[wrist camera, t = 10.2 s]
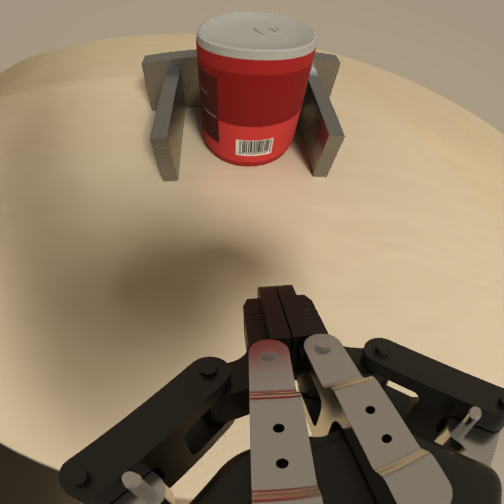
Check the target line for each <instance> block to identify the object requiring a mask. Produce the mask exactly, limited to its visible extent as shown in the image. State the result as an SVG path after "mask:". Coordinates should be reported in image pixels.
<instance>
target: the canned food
mask: <svg viewBox="0 0 504 504" xmlns="http://www.w3.org/2000/svg"><path fill="white" fill-rule="evenodd" d="M316 42H317V35H316V33H315V32H314V31H313V30H312V29H311V28H310V27H308V26H307V25H305V24H304V23H301V22H299V21H297V20H294V19H291V18H289V17H285V16H281V15H276V14H271V13H262V12H241V13H240V12H239V13H231V14H226V15H222V16H218V17H215V18H212V19H210V20H208V21H206V22H204V23H203V24H201V25H200V27H199V28H198V30H197V37H196V45H197V64H198V76H199V88H200V99H201V109H202V119H203V129H204V137H205V141H206V142H207V144H208V146H209V148H210V149H211V151H212V152H213V153H214V154H215V155H216V156H217V157H218V158H220V159H221V160H223V161H225V162H228V163H230V164H234V165H239V166H258V165H264V164H267V163H270V162H272V161H274V160H276V159H278V158H279V157H280V156H282V155H283V154H284V153H285V151H286V150H287V149H288V148H289V146H290V145H291V143H292V141H293V138H294V134H295V131H296V127H297V123H298V119H299V115H300V111H301V107H302V103H303V99H304V96H305V92H306V88H307V84H308V80H309V76H310V72H311V68H312V64H313V60H314V54H315V50H316Z"/></svg>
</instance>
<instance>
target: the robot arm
mask: <svg viewBox="0 0 504 504" xmlns="http://www.w3.org/2000/svg"><path fill="white" fill-rule="evenodd" d="M243 314H244V335H245V343H246V351H247V352H246V354H245V355H244V356H243V357H241V358H240V359H238V360H236V361H233V362H230V363H226V362H225V361H224V360H222V359H220V358H216V357H204V358H200V359H198V360H196V361H194V362H193V363H192V364H190V365H189V366H188V367H187V368H186V369H185V370H183V371H182V372H181V373H180V374H179V375H177V376H176V377H175V378H174V379H173V380H171V381H170V382H169V383H168V384H166V385H165V386H164V387H163V388H162V389H160V390H159V391H158V392H157V393H155V394H154V395H153V396H152V397H151V398H149V399H148V400H147V401H146V402H144V403H143V404H142V405H141V406H139V407H138V408H137V409H136V410H134V411H133V412H132V413H130V414H129V415H128V416H127V417H125V418H124V419H123V420H121V421H120V422H119V423H118V424H116V425H115V426H114V427H112V428H111V429H110V430H108V431H107V432H106V433H104V434H103V435H102V436H100V437H99V438H98V439H96V440H95V441H94V442H92V443H91V444H90V445H88V446H87V447H86V448H84V449H83V450H82V451H80V452H79V453H77V454H76V455H75V456H73V457H72V458H70V459H69V460H68V461H66V462H65V463H64V464H63V465H62V467H61V469H60V472H59V481H60V485H61V486H62V488H63V490H64V491H65V492H66V493H67V494H68V495H70V496H71V497H73V498H74V499H76V500H78V501H79V502H80V503H81V504H174V503H175V498H174V495H173V493H172V491H171V490H170V488H171V487H172V486H173V485H174V484H175V483H176V482H177V481H178V480H179V479H180V478H181V477H182V476H183V475H184V474H185V473H186V472H187V471H188V470H189V469H190V468H191V467H192V466H193V465H194V464H195V463H196V462H197V461H198V460H199V459H200V458H201V457H202V456H203V455H204V454H205V453H206V452H207V451H208V450H209V449H210V448H211V447H212V446H213V445H214V444H215V443H216V442H217V440H218V439H219V438H220V437H221V436H222V435H223V434H224V433H225V432H226V431H227V430H228V428H229V427H230V426H231V425H232V424H233V422H234V420H235V419H237V418H240V417H243V416H245V415H248V414H250V448H251V449H249V450H246V451H244V452H242V453H240V454H238V455H236V456H235V457H233V458H232V459H230V460H229V461H228V462H227V463H226V464H224V465H223V466H222V467H221V469H220V470H219V471H218V472H217V473H216V474H215V476H214V477H213V478H212V479H211V480H210V481H209V482H208V484H207V485H206V486H205V487H204V488H203V489H202V490H201V491H200V493H199V494H198V495H197V496H196V497H195V498H194V499H193V500H192V501H191V502H190V503H189V504H501V495H502V494H501V493H502V487H501V482H500V479H499V477H498V475H497V473H496V472H495V471H494V470H493V469H492V468H491V467H490V465H491V462H492V459H493V456H494V452H495V449H496V445H497V441H498V437H499V433H500V431H501V429H502V428H503V427H504V388H501V387H499V386H496V385H494V384H491V383H489V382H486V381H484V380H482V379H479V378H477V377H474V376H472V375H469V374H467V373H464V372H462V371H460V370H457V369H455V368H452V367H450V366H448V365H445V364H443V363H441V362H438V361H436V360H434V359H431V358H429V357H427V356H424V355H422V354H420V353H417V352H415V351H413V350H410V349H408V348H406V347H404V346H401V345H399V344H397V343H394V342H392V341H390V340H387V339H384V338H374V339H371V340H369V341H368V342H366V344H365V346H364V348H350V347H344V346H343V345H342V344H341V342H340V341H339V340H338V339H337V338H335V337H334V336H331V335H329V334H328V332H327V330H326V328H325V326H324V324H323V322H322V320H321V318H320V316H319V315H318V312H317V310H316V309H315V306H314V304H313V302H312V300H310V299H309V298H308V297H306V296H305V295H296V293H295V290H294V288H293V286H292V285H282V286H269V287H258V298H257V299H247V300H246V302H245V304H244V306H243ZM294 380H297V383H298V390H297V391H296V387H295V381H294ZM389 380H390V381H392V382H394V383H396V384H398V385H400V386H402V387H405V388H407V389H409V390H411V391H413V392H415V393H416V394H417V395H418V397H410V396H408V395H406V394H404V393H402V392H400V391H398V390H395V389H393V388H391V387H389V386H387V383H388V381H389ZM305 417H306V419H307V422H308V424H309V427H310V430H311V433H312V437H309V435H308V430H307V424H306V419H305Z"/></svg>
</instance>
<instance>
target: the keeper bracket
mask: <svg viewBox="0 0 504 504" xmlns="http://www.w3.org/2000/svg"><path fill="white" fill-rule="evenodd" d="M339 66H340V61H339V60H338V58H337V57H336V55H330V54H323V53H316V52H315V54H314V60H313V64H312V68H311V72H310V76H309V80H308V84H307V88H306V92H305V96H304V99H303V103H302V107H301V111H300V115H299V119H298V120H299V124H300V127H301V131H302V134H303V138H304V142H305V146H306V150H307V154H308V158H309V162H310V166H311V170H312V174H313V176H318V177H327V175H328V172H329V170H330V168H331V166H332V164H333V161H334V159H335V157H336V155H337V153H338V150H339V148H340V146H341V144H342V142H343V139H344V137H345V136H344V133H343V131H342V128H341V126H340V123H339V121H338V118H337V116H336V113H335V111H334V108H333V106H332V104H331V101H330V99H329V97H330V94H331V91H332V88H333V85H334V82H335V79H336V76H337V72H338V69H339ZM142 68H143V73H144V77H145V82H146V86H147V90H148V94H149V98H150V102H151V106H152V110H157V111H156V115H155V119H154V124H153V128H152V133H151V138H150V140H151V144H152V147H153V150H154V153H155V156H156V159H157V162H158V165H159V168H160V171H161V174H162V177H163V180H164V181H176V180H178V177H179V165H180V154H181V144H182V135H183V126H184V118H185V110H186V107H189V106H201V99H200V88H199V76H198V64H197V50H186V51H176V52H168V53H161V54H154V55H148V56H145V57H144V59H143V62H142Z"/></svg>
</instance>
